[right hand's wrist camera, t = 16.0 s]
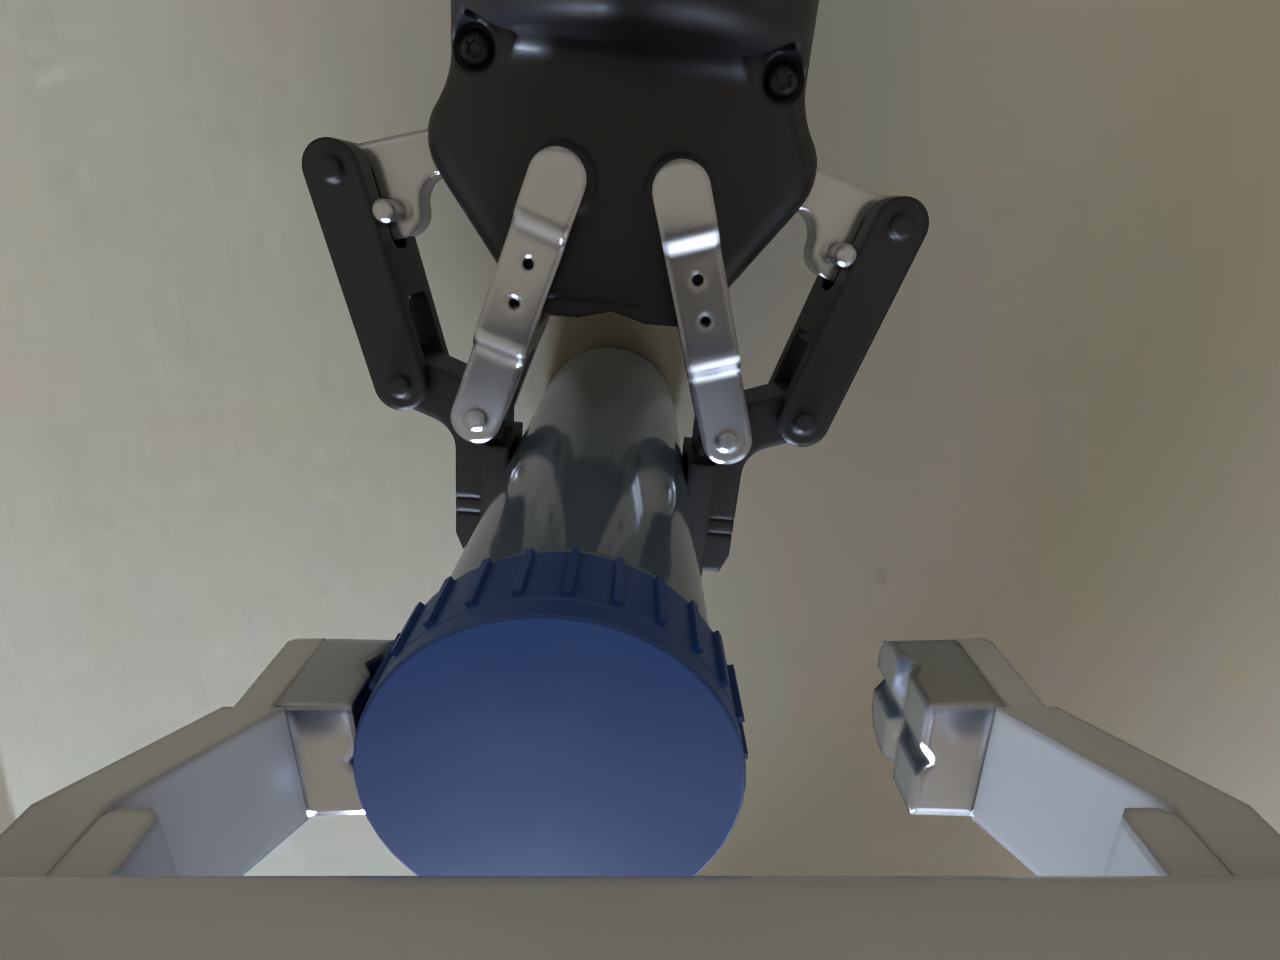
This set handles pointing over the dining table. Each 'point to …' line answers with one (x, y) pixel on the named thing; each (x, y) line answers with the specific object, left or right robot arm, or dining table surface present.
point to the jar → (597, 476)
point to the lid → (553, 726)
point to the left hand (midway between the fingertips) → (593, 565)
